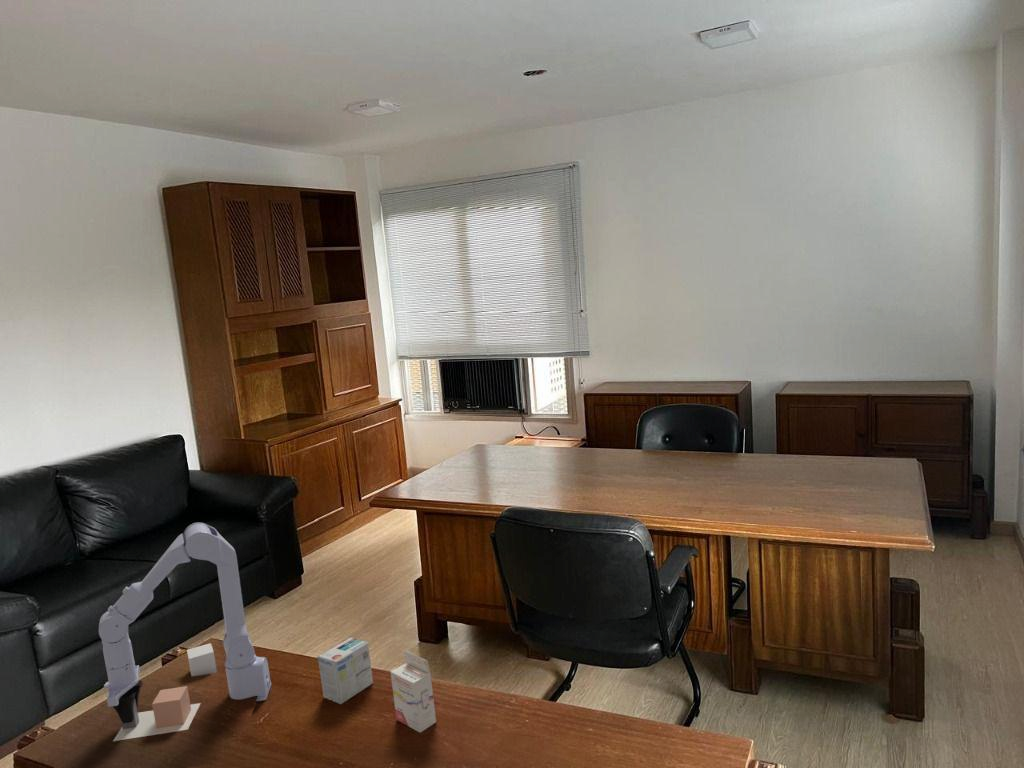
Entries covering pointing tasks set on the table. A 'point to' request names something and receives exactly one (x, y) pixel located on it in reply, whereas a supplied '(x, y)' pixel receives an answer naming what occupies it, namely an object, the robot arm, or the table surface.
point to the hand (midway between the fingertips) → (130, 718)
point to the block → (171, 707)
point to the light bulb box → (345, 670)
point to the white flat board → (150, 724)
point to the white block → (201, 660)
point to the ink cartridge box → (413, 693)
